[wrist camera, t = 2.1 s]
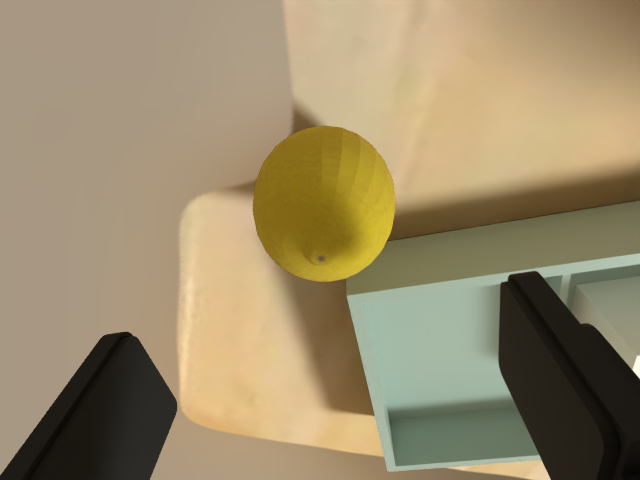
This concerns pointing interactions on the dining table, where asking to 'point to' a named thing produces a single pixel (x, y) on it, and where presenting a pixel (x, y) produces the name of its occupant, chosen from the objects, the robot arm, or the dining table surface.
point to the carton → (613, 314)
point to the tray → (468, 328)
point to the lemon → (324, 204)
